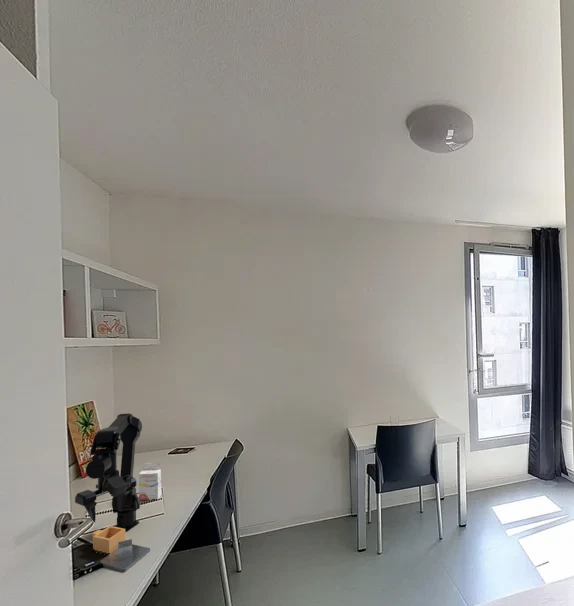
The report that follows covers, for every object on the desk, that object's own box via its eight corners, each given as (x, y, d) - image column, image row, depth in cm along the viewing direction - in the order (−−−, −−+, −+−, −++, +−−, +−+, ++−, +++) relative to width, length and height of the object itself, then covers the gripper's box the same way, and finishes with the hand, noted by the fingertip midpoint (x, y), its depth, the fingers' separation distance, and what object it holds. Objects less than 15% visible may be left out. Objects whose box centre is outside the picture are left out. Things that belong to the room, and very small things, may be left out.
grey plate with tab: (125, 545, 132) (124, 532, 132) (150, 551, 128) (149, 537, 128) (99, 564, 121) (98, 550, 122) (125, 571, 117) (125, 556, 118)
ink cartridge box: (138, 501, 165) (138, 467, 166) (142, 495, 170) (142, 462, 171) (158, 499, 166) (157, 465, 167) (161, 494, 171) (160, 461, 172)
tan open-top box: (103, 538, 137) (103, 524, 137) (125, 543, 133) (125, 528, 133) (86, 550, 130) (86, 535, 130) (109, 555, 126) (108, 540, 126)
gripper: (92, 481, 115) (92, 535, 114) (145, 463, 131) (146, 510, 129) (74, 475, 122) (73, 526, 120) (127, 459, 137) (127, 504, 135)
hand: (107, 516), depth 126 cm, fingers open, 9 cm apart
